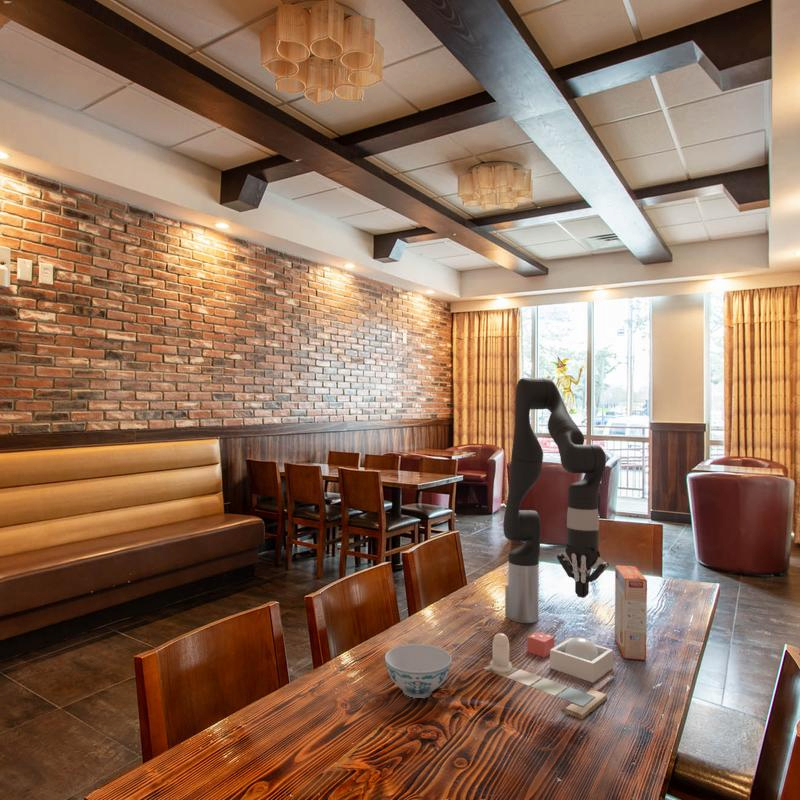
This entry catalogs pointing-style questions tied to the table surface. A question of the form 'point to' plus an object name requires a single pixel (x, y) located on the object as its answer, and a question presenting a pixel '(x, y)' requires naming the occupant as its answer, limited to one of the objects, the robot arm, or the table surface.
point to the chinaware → (418, 668)
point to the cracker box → (630, 612)
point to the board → (580, 700)
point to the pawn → (500, 654)
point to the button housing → (582, 663)
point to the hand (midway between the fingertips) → (582, 596)
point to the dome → (582, 649)
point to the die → (540, 644)
